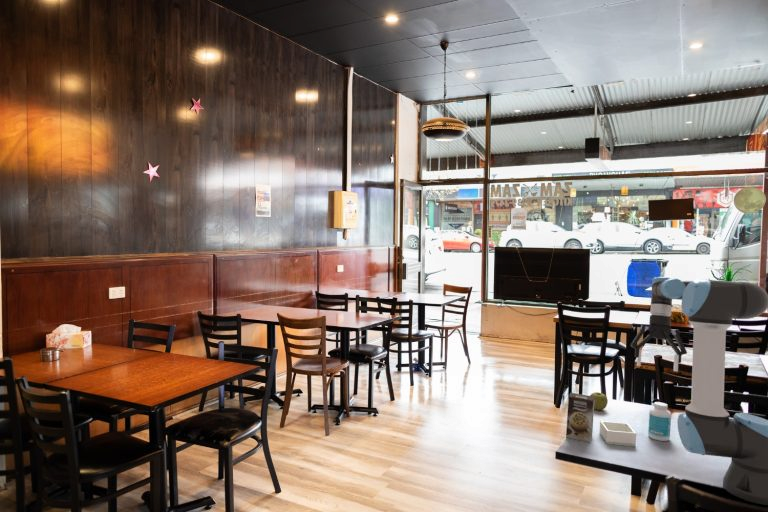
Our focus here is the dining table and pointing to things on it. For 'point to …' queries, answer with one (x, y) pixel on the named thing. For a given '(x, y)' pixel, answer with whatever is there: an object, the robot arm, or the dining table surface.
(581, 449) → the dining table surface
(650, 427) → the pill bottle
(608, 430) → the holder
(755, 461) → the robot arm
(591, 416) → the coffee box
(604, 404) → the apple
